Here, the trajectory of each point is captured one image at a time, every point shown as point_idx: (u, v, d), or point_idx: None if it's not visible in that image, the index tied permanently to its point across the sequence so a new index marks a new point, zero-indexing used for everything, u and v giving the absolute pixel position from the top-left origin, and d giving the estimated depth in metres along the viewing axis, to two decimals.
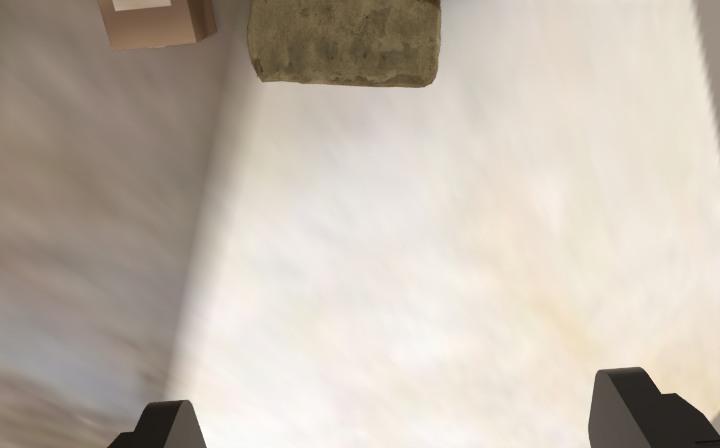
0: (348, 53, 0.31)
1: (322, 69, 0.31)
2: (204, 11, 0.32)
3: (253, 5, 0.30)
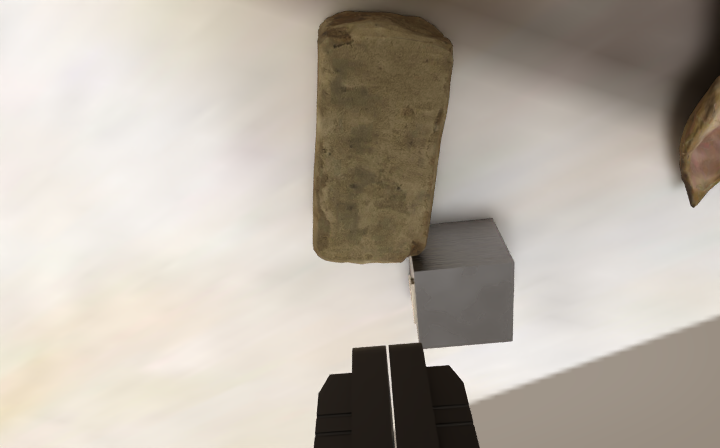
0: (356, 165, 0.24)
1: (336, 133, 0.23)
2: None
3: (422, 42, 0.22)
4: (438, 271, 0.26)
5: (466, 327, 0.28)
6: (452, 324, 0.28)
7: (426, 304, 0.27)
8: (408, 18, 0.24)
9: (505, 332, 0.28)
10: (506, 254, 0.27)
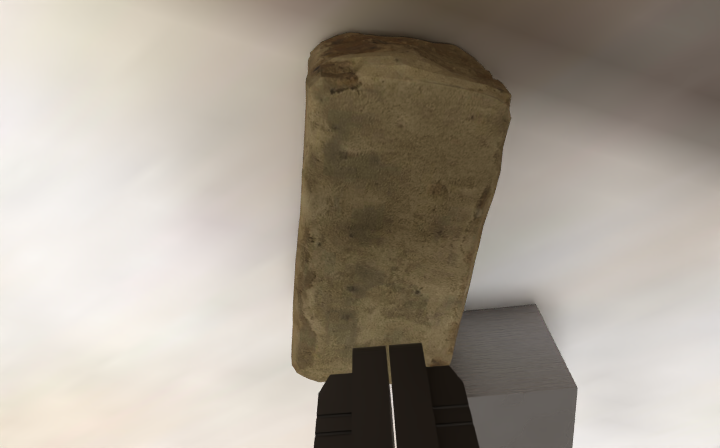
0: (357, 261, 0.16)
1: (330, 216, 0.15)
2: None
3: (467, 89, 0.14)
4: (470, 400, 0.19)
5: None
6: None
7: None
8: (440, 47, 0.17)
9: None
10: (564, 371, 0.19)
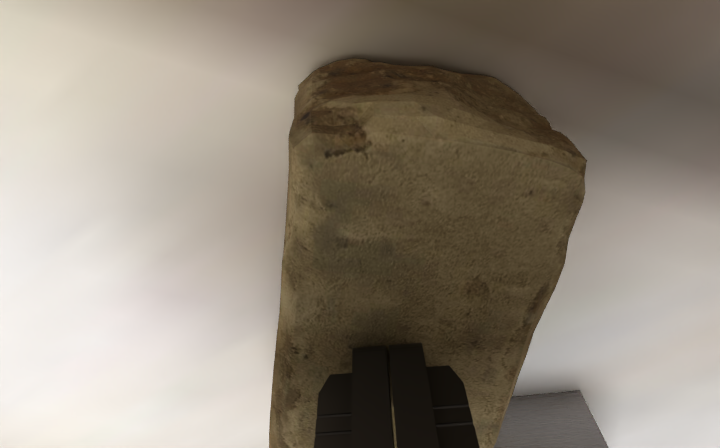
0: None
1: (321, 322, 0.11)
2: None
3: (526, 154, 0.10)
4: None
5: None
6: None
7: None
8: (476, 81, 0.12)
9: None
10: None
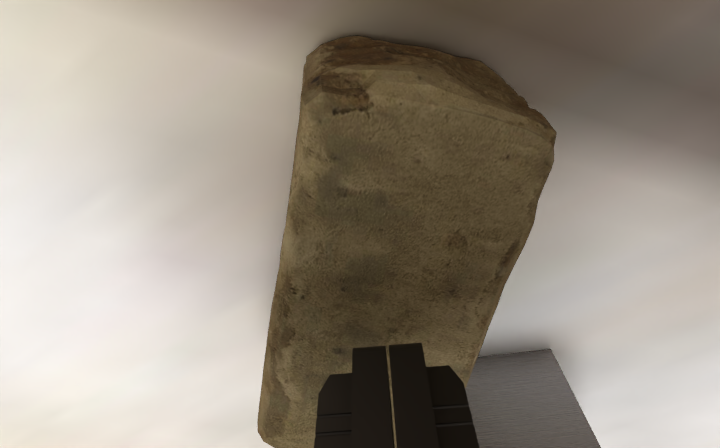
0: (348, 320, 0.13)
1: (318, 265, 0.12)
2: None
3: (505, 122, 0.11)
4: None
5: None
6: None
7: None
8: (465, 63, 0.14)
9: None
10: (589, 438, 0.16)
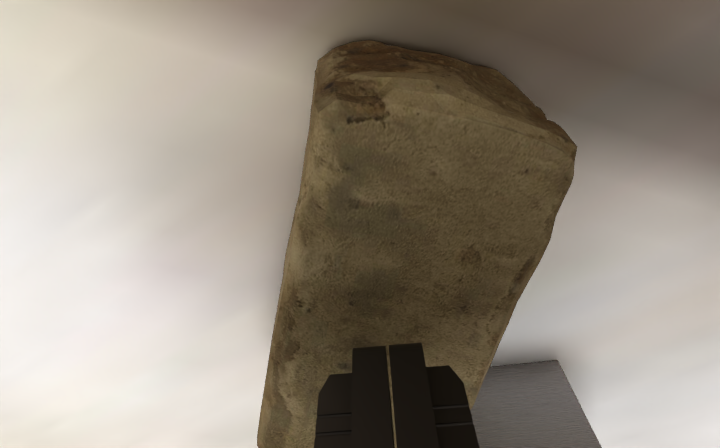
0: (355, 335, 0.13)
1: (327, 278, 0.12)
2: None
3: (525, 135, 0.11)
4: None
5: None
6: None
7: None
8: (481, 71, 0.13)
9: None
10: None
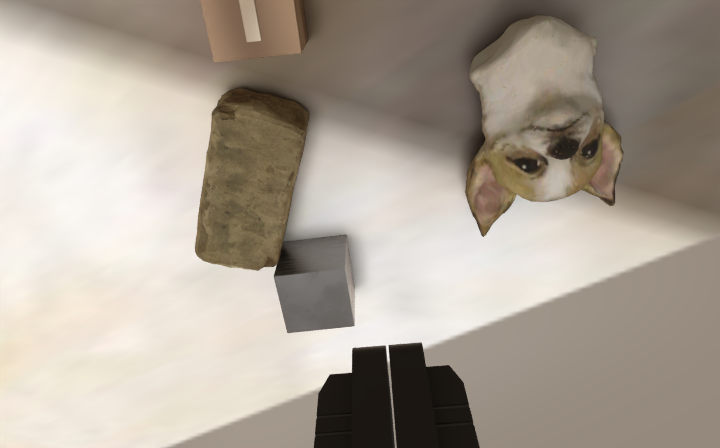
0: (230, 199, 0.34)
1: (218, 175, 0.33)
2: None
3: (283, 126, 0.32)
4: (291, 276, 0.36)
5: (318, 316, 0.38)
6: (307, 314, 0.38)
7: (286, 300, 0.37)
8: (285, 102, 0.35)
9: (348, 319, 0.38)
10: (342, 262, 0.37)
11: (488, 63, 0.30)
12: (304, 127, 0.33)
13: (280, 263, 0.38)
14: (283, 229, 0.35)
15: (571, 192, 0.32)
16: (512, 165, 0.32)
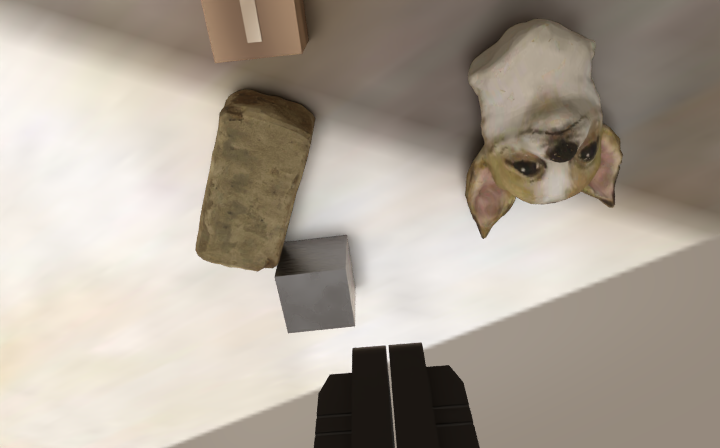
0: (233, 199, 0.34)
1: (222, 175, 0.33)
2: None
3: (290, 129, 0.32)
4: (292, 276, 0.37)
5: (319, 316, 0.38)
6: (308, 314, 0.38)
7: (287, 300, 0.37)
8: (292, 105, 0.35)
9: (348, 319, 0.38)
10: (343, 263, 0.37)
11: (486, 67, 0.30)
12: (311, 131, 0.33)
13: (281, 263, 0.38)
14: (285, 231, 0.35)
15: (570, 194, 0.32)
16: (511, 168, 0.32)
